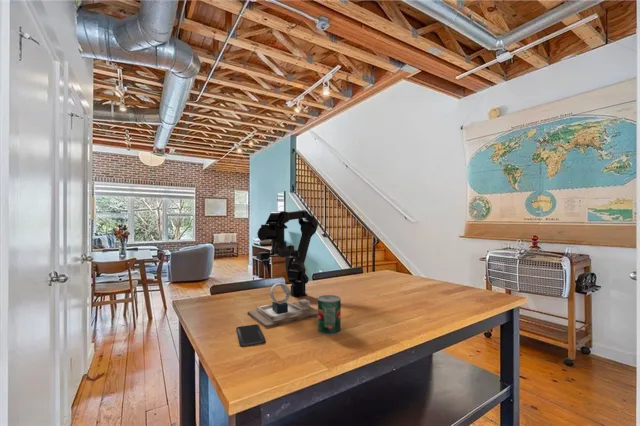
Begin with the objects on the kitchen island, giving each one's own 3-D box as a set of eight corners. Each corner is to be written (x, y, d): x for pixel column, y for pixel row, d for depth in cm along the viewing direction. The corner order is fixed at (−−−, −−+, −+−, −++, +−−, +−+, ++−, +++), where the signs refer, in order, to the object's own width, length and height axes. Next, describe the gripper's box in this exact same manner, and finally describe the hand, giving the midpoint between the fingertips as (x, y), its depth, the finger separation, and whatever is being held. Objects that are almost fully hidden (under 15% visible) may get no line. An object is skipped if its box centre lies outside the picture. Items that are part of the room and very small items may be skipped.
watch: (292, 311, 117) (292, 283, 118) (272, 314, 114) (272, 285, 114) (287, 307, 122) (287, 280, 122) (268, 310, 119) (268, 282, 119)
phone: (240, 344, 90) (235, 326, 104) (240, 348, 90) (235, 330, 104) (266, 340, 93) (258, 323, 107) (266, 344, 93) (258, 327, 107)
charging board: (299, 303, 133) (299, 294, 133) (322, 315, 119) (322, 304, 119) (247, 314, 120) (247, 304, 120) (266, 328, 105) (266, 316, 105)
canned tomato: (345, 332, 101) (345, 299, 102) (325, 336, 98) (325, 302, 98) (332, 324, 108) (332, 294, 108) (313, 328, 104) (313, 297, 105)
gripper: (266, 241, 123) (266, 279, 123) (305, 239, 134) (305, 274, 134) (255, 239, 133) (255, 275, 133) (292, 237, 143) (293, 270, 143)
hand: (278, 273), depth 135 cm, fingers open, 9 cm apart
